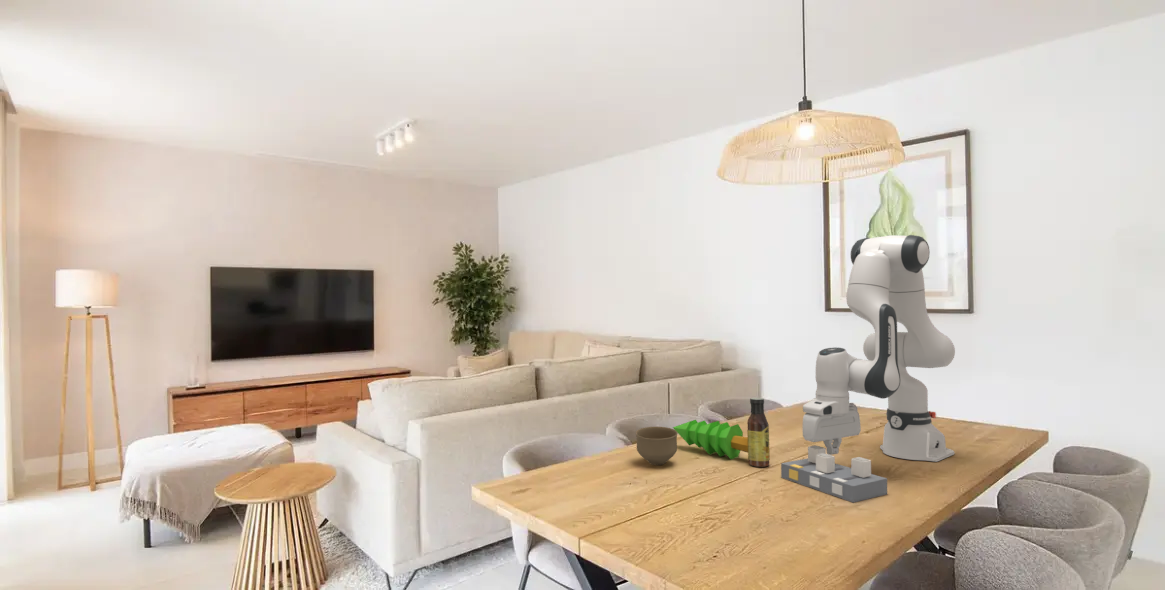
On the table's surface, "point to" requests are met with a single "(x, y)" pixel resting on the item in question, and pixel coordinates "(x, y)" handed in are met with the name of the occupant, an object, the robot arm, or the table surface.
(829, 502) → the table surface
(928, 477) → the table surface
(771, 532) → the table surface
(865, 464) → the knob
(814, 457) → the knob
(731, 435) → the decorative tree
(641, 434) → the bowl
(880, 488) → the console
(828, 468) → the knob
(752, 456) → the sauce bottle
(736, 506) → the table surface
